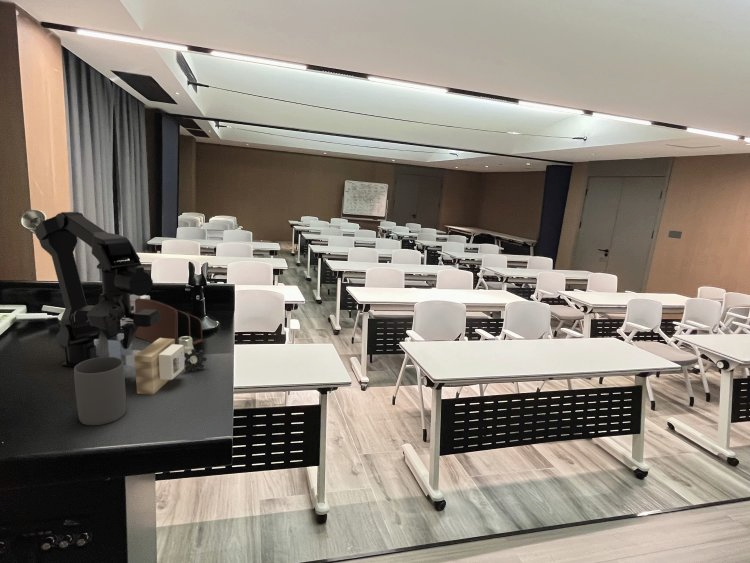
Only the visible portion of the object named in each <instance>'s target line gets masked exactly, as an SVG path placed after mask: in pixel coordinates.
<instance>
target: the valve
mask: <svg viewBox="0 0 750 563" xmlns="http://www.w3.org/2000/svg"><path fill="white" fill-rule="evenodd" d="M179 345H184V362H185V364H184V369H183V370H184V371H186V372H188V371H189V370H190V369H191V371H192V373H196V372H197V371H198V370H197V368H200V369H203V368H204V367H205V366H204V364H203V362H206V361H207V360H208V359H207V357H206V356H205V355H204V351H203V350H202V349H201V350H199V351H198V352H197V350H196V349H195V348H194V345H192V337H190V336H183V337H180V338H179ZM203 355H204V356H203ZM198 357H199V362H198ZM189 362H190V363H191V365H190V364H189ZM197 362H198V363H197ZM196 363H197V364H196ZM195 364H196V365H195ZM185 365H186V366H185Z"/></svg>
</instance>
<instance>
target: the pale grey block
mask: <svg viewBox="0 0 750 563" xmlns="http://www.w3.org/2000/svg"><path fill="white" fill-rule="evenodd" d="M107 348H108V349H107V350H108V357H116V358H119V359H121V360H122V361H123V367H124V374H125V373H126V372H128V371H130V369H132V368H133V367H135V355H136V354H137V353H139V352H140V351H141V350H137V349H136V350H135V349H133V342H131V344H130V346H129V348H128V349H125V345H124V332H123V333H122V332H121V333H117V335H116V336H114V337H112V338H110V339H109V340H107ZM184 364H185V362H184V354H183V353H180V354H179V355H178V356H177V357H175V358H174V359H173V369H180V368H181V367H182V366H183V365H184ZM185 365H186V364H185ZM185 365H184V366H185Z"/></svg>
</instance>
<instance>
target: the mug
mask: <svg viewBox="0 0 750 563" xmlns="http://www.w3.org/2000/svg"><path fill="white" fill-rule="evenodd" d="M73 375H74V376H73V378H74V388H75V389H74V390H75V391H74V392H75V399H76V409H77V415H78V419H79V421H80V423H81V424H83V425H85V426H101V425H106V424H109V423H112V422H115V421H117V420H119V419H120V418H122V417H123V416H125V413H126V412H127V397H126V396H127V394H126V393H127V392H126V381H125V379H126V378H125V373H124V367H123V361H122V360H121V359H119V358H116V357H109V356H99V357H98V358H93V359H89V360H86V361H83V362H81V363H79V364H77V365H76V366H74V368H73Z"/></svg>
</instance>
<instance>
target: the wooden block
mask: <svg viewBox="0 0 750 563" xmlns="http://www.w3.org/2000/svg"><path fill="white" fill-rule="evenodd" d="M172 344H175V339H168V338H159V339H157V340H156V341H155V342H153V343H152V342H151V344H149V345H148V346H145V347H144V348H143V349H142V350H139V351H140V352H139V353H137V354H136V355H135V366H134V369H135V381H136V394H140V395H151V396H153V395H155V394H156V393H157V392H158V391H159V390H160V389H161V388H162V387H163V386H164V385H166V383H168V382H169V381H170V380H167V379H160V371H159V354H160V353H161V352H163V351H164V350H165V349H167V348H168V347H169V346H171V345H172Z"/></svg>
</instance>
